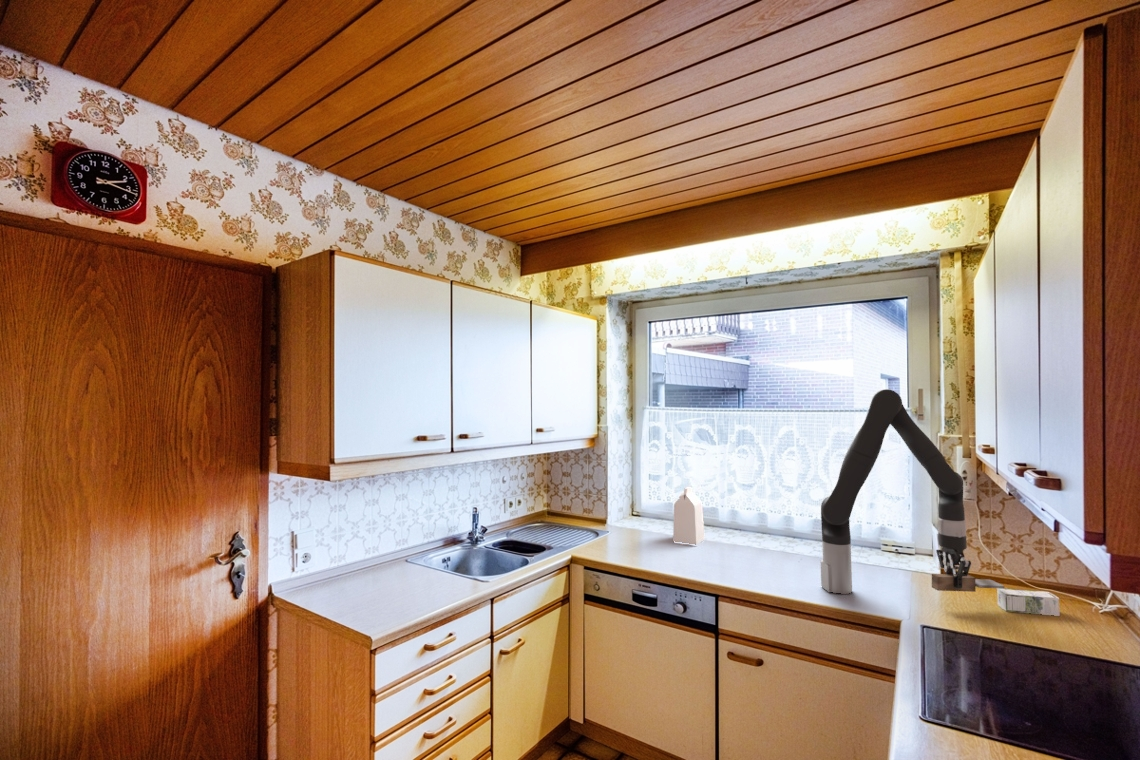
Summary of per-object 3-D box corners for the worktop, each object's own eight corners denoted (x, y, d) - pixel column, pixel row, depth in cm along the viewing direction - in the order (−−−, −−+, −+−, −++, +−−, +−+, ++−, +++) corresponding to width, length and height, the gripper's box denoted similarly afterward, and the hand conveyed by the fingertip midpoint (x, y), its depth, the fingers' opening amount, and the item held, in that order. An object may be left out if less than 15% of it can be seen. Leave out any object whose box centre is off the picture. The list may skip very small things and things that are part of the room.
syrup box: (997, 605, 175) (1049, 609, 171) (1006, 612, 170) (1061, 616, 166) (996, 587, 176) (1049, 591, 172) (1005, 594, 170) (1060, 598, 166)
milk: (696, 546, 248) (695, 490, 249) (673, 543, 254) (672, 488, 255) (704, 540, 258) (703, 486, 259) (682, 537, 264) (681, 484, 265)
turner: (940, 592, 171) (940, 578, 171) (928, 585, 177) (928, 572, 177) (1004, 594, 170) (1004, 580, 170) (990, 587, 176) (990, 574, 176)
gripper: (926, 527, 181) (928, 578, 181) (955, 538, 167) (957, 593, 167) (949, 527, 181) (951, 578, 181) (979, 538, 167) (981, 593, 167)
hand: (954, 585), depth 174 cm, fingers closed on turner, 3 cm apart
